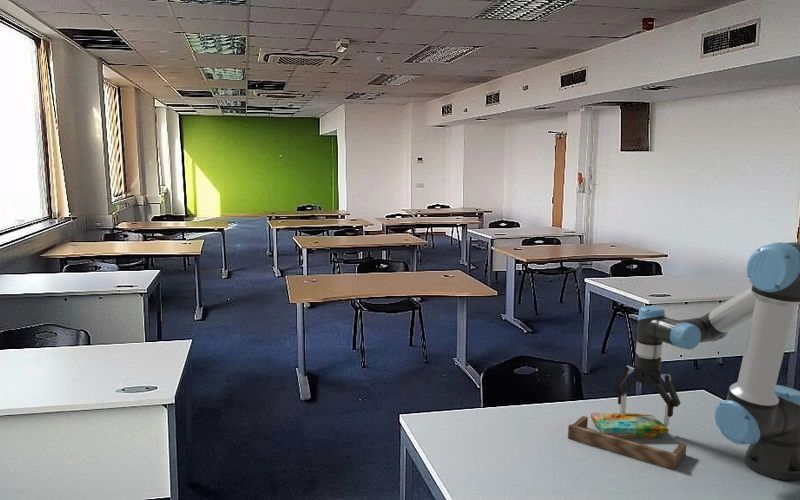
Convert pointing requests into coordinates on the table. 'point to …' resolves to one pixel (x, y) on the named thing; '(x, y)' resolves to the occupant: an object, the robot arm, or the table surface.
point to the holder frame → (625, 445)
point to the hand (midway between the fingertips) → (644, 420)
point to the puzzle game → (628, 425)
